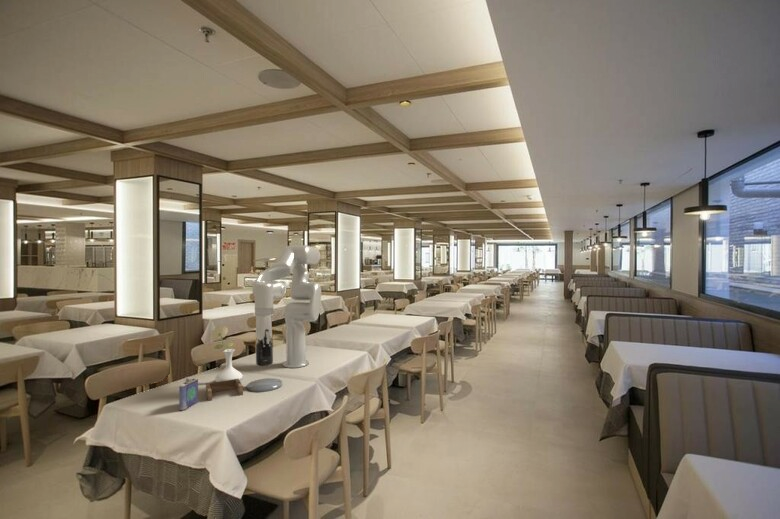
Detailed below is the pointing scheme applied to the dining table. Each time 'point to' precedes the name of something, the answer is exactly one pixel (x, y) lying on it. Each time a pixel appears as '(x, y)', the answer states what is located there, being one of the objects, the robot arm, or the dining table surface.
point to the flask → (188, 393)
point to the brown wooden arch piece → (223, 387)
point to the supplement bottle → (259, 358)
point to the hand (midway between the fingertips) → (264, 354)
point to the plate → (264, 385)
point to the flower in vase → (229, 371)
